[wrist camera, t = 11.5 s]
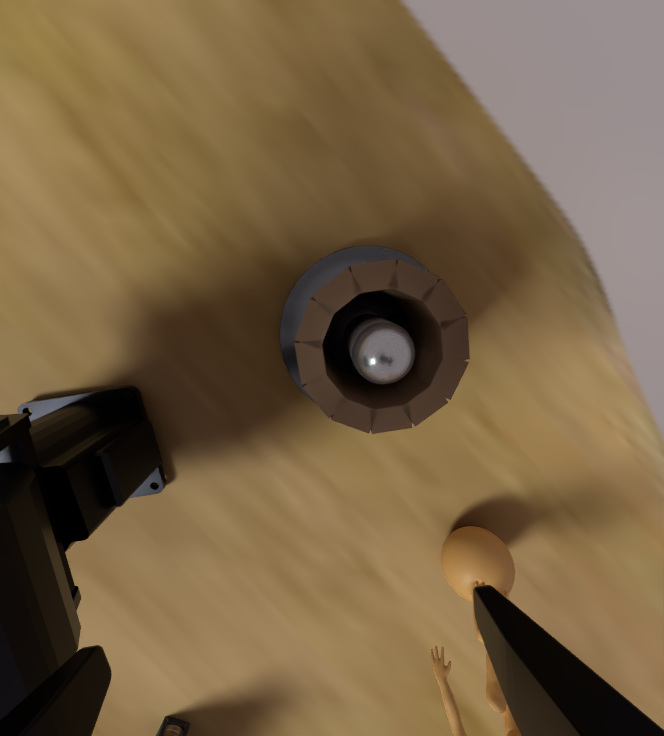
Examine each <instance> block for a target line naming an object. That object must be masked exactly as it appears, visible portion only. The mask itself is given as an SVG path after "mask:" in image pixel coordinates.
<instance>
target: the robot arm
mask: <svg viewBox="0 0 664 736" xmlns="http://www.w3.org/2000/svg"><path fill="white" fill-rule="evenodd" d="M127 392H129V393H131V395H132V399H131V398H129V397H128V396H127V394H126V393H127ZM28 408H29V409H31V411H32V413H30V412H29V409H28ZM161 462H162V458H161V454H160V451H159V448H158V444H157V441H156V437H155V434H154V431H153V427H152V424H151V422H150V421H149V420H148V418H147V415H146V411H145V408H144V404H143V401H142V398H141V394H140V392H139V390H138V389H137V388H136V387H134V386H123V387H117V388H110V389H104V390H98V391H91V392H85V393H79V394H72V395H66V396H60V397H53V398H47V399H41V400H34V401H29V402H26V403H24V404H21V405H20V406H19V407H18V414H11V415H0V736H91V735H92V732H93V730H94V727H95V724H96V721H97V718H98V716H99V713H100V710H101V707H102V704H103V701H104V699H105V696H106V693H107V690H108V687H109V684H110V681H111V668H110V666H109V663H108V660H107V658H106V655H105V653H104V650H103V648H102V647H101V646H99V645H96V646H90V647H84V648H82V649H80V650H79V651H77V649H78V644H79V636H80V629H81V625H80V622H79V619H78V615H77V612H76V611H77V608H78V605H79V603H80V600H81V595H80V591H79V588H78V586H75V585H74V582H73V578H72V575H71V571H70V568H69V565H68V561H67V558H66V554H65V552H66V551H67V550H68V549H69V548H70V547H71V546H72V545H73V544H74V543H75V542H76V541H82V540H86V539H87V538H88V537H89V536H90V535H91V534H92V533H93V532H94V531H95V530H96V529H97V528H98V527H99V526H100V525H101V524H102V522H103V521H104V520H105V519H106V518H107V517H108V516H109V515H110V514H111V513H112V512H113V511H114V510H115V509H116V508H117V507H121V506H122V505H123V504H124V503H125V502H126V501H127V500H128V499H129V498H132V497H139V496H145V495H151V494H157V493H160V492H161V491H162V490H163V489H164V488H165V486H166V479H165V475H164V472H163V469H162V465H161ZM153 482H156V483H158V485H159V486H156V485H154V483H153ZM473 600H474V614H475V619H476V623H477V626H478V629H479V631H480V634H481V637H482V639H483V642H484V645H485V647H486V650H487V652H488V655H489V658H490V660H491V663H492V666H493V668H494V671H495V674H496V676H497V679H498V682H499V684H500V687H501V690H502V692H503V695H504V697H505V700H506V702H507V705H508V707H509V710H510V712H511V714H512V716H513V718H514V721H515V723H516V725H517V727H518V729H519V731H520V733H521V735H522V736H664V730H663V729H662V728H661V727H659V726H658V725H657V724H656V723H655V722H654V721H652V720H651V719H650V718H649V717H648V716H646V715H645V714H644V713H643V712H642V711H640V710H639V709H638V708H637V707H636V706H634V705H633V704H632V703H631V702H630V701H629V700H627V699H626V698H625V697H624V696H623V695H621V694H620V693H619V692H618V691H617V690H615V689H614V688H613V687H612V686H611V685H609V684H608V683H607V682H606V681H605V680H604V679H602V678H601V677H600V676H599V675H598V674H596V673H595V672H594V671H593V670H592V669H590V668H589V667H588V666H587V665H586V664H584V663H583V662H582V661H581V660H580V659H579V658H577V657H576V656H575V655H574V654H573V653H571V652H570V651H569V650H568V649H567V648H565V647H564V646H563V645H562V644H561V643H559V642H558V641H557V640H556V639H555V638H554V637H552V636H551V635H550V634H549V633H548V632H546V631H545V630H544V629H543V628H542V627H540V626H539V625H538V624H537V623H536V622H534V621H533V620H532V619H531V618H530V617H529V616H527V615H526V614H525V613H524V612H523V611H521V610H520V609H519V608H518V607H517V606H515V605H514V604H513V603H512V602H511V601H509V600H508V599H507V598H506V597H505V596H503V595H502V594H501V593H500V592H499V591H498V590H496V589H495V588H494V587H493V586H491V585H483V586H476V587H474V589H473ZM76 651H77V652H76Z"/></svg>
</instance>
